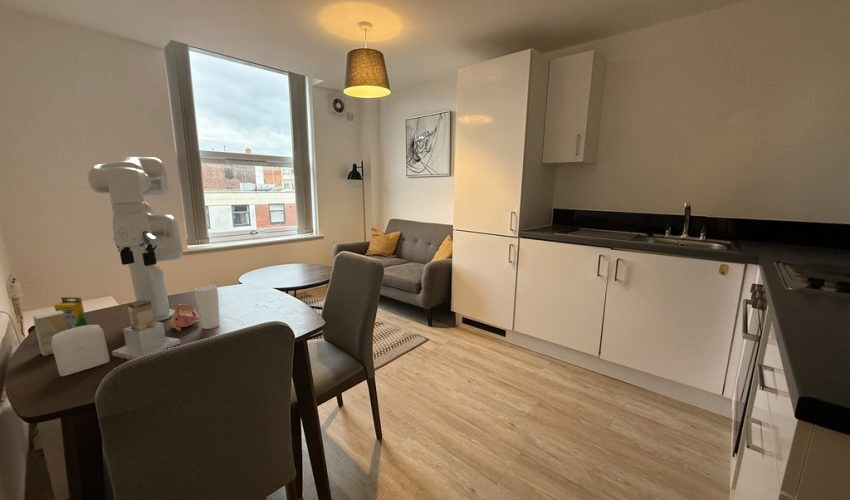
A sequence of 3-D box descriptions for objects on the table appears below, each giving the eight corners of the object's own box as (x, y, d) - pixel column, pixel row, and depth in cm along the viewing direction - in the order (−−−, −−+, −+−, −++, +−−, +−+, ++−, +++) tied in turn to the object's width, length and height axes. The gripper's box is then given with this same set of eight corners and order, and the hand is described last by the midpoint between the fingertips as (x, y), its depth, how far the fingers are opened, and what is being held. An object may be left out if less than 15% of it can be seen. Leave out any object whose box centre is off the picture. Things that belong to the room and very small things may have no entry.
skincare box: (43, 356, 101) (34, 319, 99) (40, 353, 103) (30, 316, 101) (73, 348, 107) (65, 312, 104) (69, 344, 109) (61, 309, 106)
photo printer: (59, 378, 90) (49, 336, 87) (58, 373, 92) (48, 331, 90) (111, 363, 97) (102, 323, 95) (108, 358, 100) (100, 319, 98)
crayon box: (59, 330, 120) (52, 300, 117) (68, 327, 122) (61, 297, 120) (79, 330, 119) (72, 299, 117) (88, 327, 122) (81, 297, 120)
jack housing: (112, 355, 101) (107, 329, 100) (154, 338, 113) (150, 315, 111) (140, 361, 98) (134, 335, 96) (180, 343, 109) (176, 319, 107)
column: (135, 346, 104) (126, 304, 101) (149, 340, 108) (141, 299, 105) (144, 348, 102) (136, 305, 100) (158, 342, 106) (150, 301, 104)
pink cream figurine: (163, 335, 117) (161, 311, 121) (191, 337, 125) (189, 314, 130) (182, 322, 115) (179, 298, 119) (208, 325, 124) (206, 303, 128)
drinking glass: (211, 331, 118) (205, 291, 115) (195, 329, 119) (189, 290, 116) (226, 323, 124) (221, 285, 121) (211, 322, 126) (205, 284, 123)
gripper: (95, 210, 99) (106, 266, 102) (135, 209, 94) (146, 268, 97) (123, 209, 107) (133, 261, 109) (163, 208, 102) (171, 263, 104)
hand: (139, 264), depth 103 cm, fingers open, 9 cm apart
